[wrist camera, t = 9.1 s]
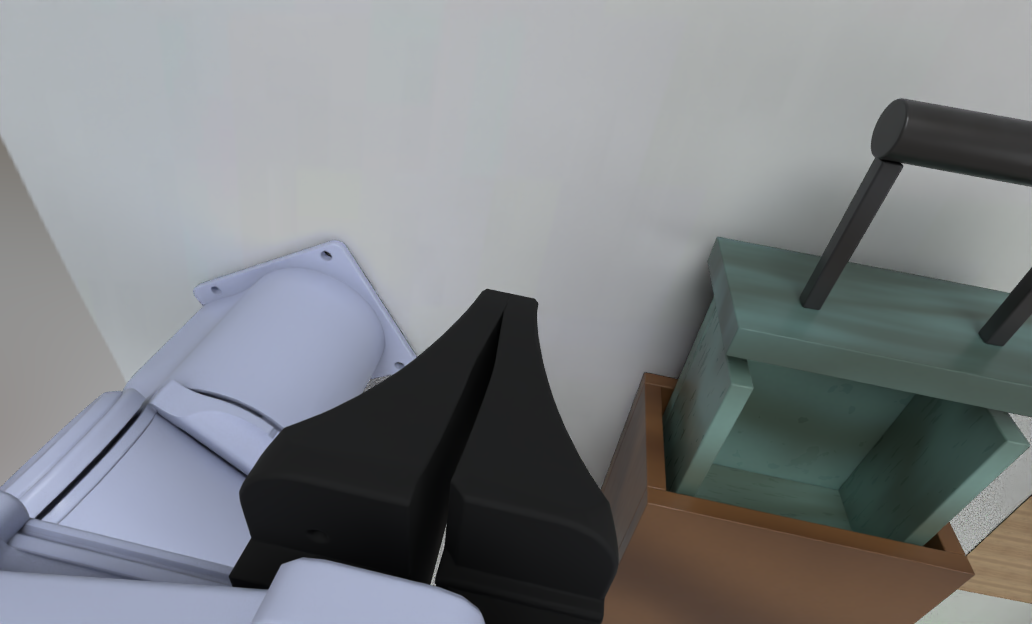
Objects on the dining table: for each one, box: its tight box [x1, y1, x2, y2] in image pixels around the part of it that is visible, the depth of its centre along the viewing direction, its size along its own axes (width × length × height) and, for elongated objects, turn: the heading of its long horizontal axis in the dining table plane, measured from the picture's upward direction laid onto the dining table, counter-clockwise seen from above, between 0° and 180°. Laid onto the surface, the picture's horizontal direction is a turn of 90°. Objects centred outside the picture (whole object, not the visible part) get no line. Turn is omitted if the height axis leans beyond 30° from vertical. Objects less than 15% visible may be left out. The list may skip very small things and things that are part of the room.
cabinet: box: [601, 373, 975, 624], centre depth 29 cm, size 14×13×8 cm
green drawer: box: [662, 98, 1032, 546], centre depth 22 cm, size 19×11×6 cm, turn 173°
